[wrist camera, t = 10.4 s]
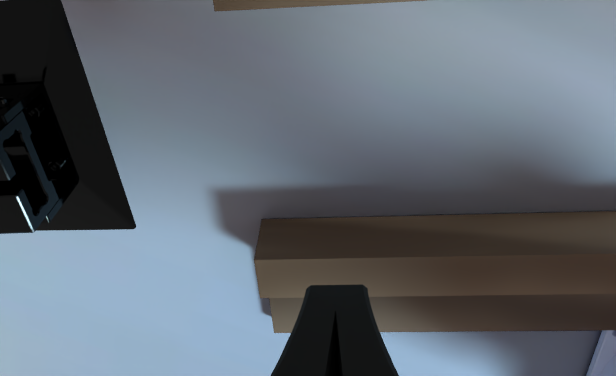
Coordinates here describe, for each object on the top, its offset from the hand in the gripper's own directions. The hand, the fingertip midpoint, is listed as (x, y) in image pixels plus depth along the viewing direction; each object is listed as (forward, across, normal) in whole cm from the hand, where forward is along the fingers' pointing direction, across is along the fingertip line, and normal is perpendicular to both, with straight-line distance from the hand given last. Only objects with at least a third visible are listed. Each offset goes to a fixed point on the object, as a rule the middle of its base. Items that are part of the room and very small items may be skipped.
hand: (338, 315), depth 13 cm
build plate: (+9, +12, -1) cm, 15 cm away
